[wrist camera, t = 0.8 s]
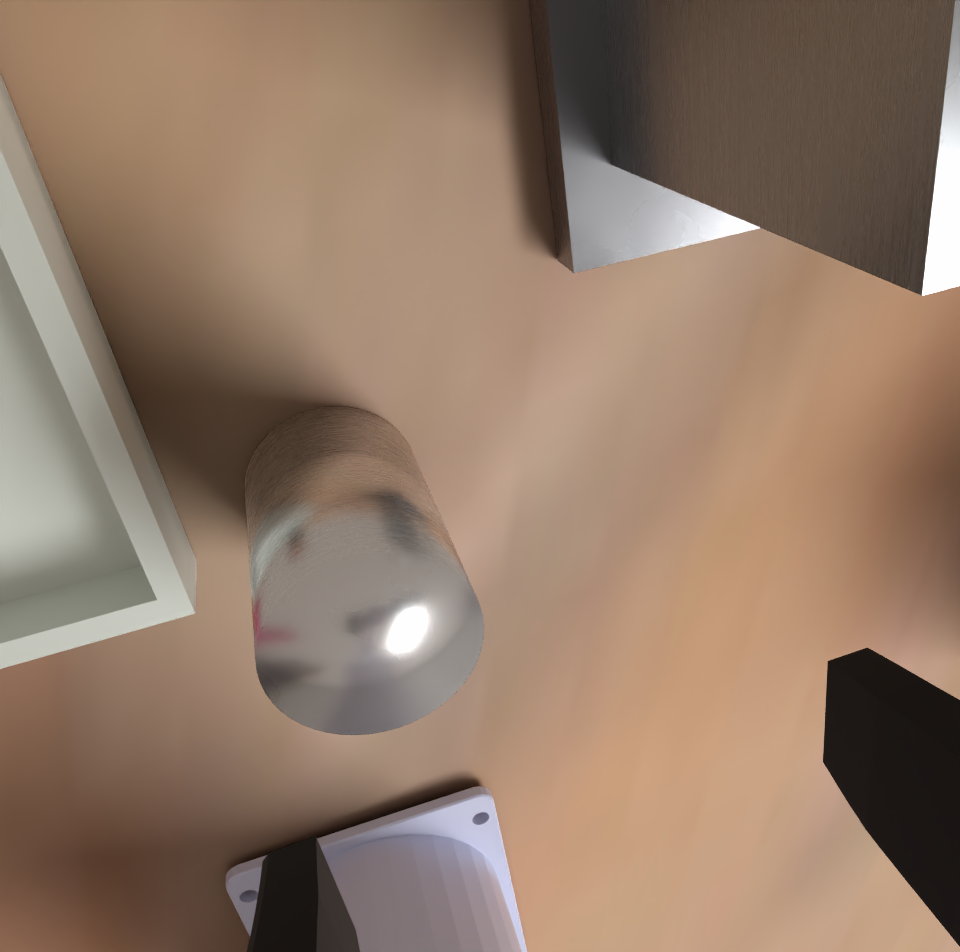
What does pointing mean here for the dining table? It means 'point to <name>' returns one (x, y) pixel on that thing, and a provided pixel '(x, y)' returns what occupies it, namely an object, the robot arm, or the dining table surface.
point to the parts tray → (70, 448)
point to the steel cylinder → (353, 577)
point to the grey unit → (755, 128)
